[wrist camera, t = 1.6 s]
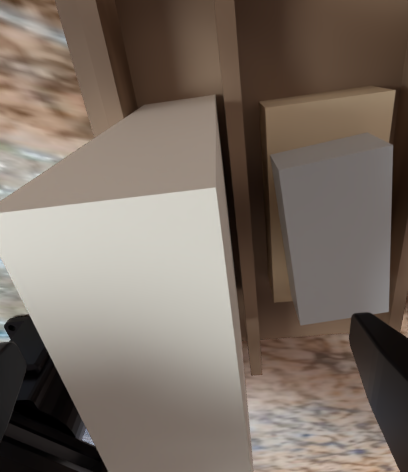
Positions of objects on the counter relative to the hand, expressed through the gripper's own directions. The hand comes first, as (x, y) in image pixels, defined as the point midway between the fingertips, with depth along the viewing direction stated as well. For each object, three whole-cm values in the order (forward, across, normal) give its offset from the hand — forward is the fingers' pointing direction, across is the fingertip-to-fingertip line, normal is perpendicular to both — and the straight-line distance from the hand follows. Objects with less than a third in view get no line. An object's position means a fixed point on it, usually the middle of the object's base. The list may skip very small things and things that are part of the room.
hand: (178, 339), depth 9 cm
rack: (+10, -3, 0) cm, 10 cm away
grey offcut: (+6, -6, 0) cm, 8 cm away
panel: (+8, 0, 0) cm, 8 cm away
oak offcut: (+8, -6, 0) cm, 10 cm away
